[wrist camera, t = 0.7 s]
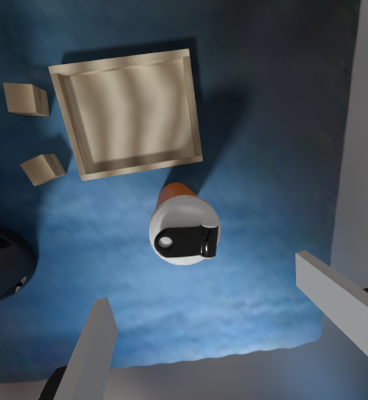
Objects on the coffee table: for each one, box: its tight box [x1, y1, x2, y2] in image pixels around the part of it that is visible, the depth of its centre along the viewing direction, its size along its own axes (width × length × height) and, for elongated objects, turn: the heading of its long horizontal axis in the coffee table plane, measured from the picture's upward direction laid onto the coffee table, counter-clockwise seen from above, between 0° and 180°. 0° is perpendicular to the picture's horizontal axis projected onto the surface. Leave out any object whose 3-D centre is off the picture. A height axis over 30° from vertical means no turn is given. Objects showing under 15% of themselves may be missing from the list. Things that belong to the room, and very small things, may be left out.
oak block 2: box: [20, 154, 67, 186], centre depth 35 cm, size 4×4×4 cm
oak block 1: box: [3, 83, 50, 117], centre depth 32 cm, size 4×4×4 cm
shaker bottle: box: [149, 182, 221, 265], centre depth 31 cm, size 9×9×20 cm
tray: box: [48, 49, 203, 181], centre depth 35 cm, size 22×18×3 cm
